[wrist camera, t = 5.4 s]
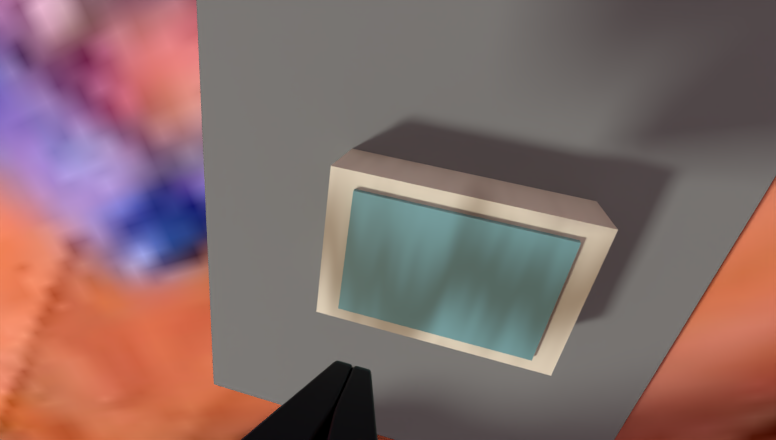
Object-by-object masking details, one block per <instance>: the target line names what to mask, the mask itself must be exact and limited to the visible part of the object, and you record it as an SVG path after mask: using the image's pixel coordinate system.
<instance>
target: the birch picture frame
mask: <svg viewBox="0 0 776 440" xmlns="http://www.w3.org/2000/svg"><path fill="white" fill-rule="evenodd" d="M617 231H618V229H617V228H616V226H615V225H614V224H613V222H612V221H611V220H610V218H609V217H608V216H607V214H606V213H605V212H604V210H603V209H602V208H601V206H600V205H599V204H598V202H597V201H593V200H588V199H583V198H579V197H574V196H569V195H565V194H560V193H556V192H551V191H546V190H542V189H537V188H532V187H528V186H523V185H519V184H514V183H509V182H505V181H500V180H495V179H491V178H486V177H481V176H477V175H472V174H468V173H463V172H458V171H454V170H449V169H444V168H440V167H435V166H430V165H426V164H421V163H417V162H412V161H407V160H403V159H398V158H393V157H389V156H384V155H380V154H375V153H370V152H366V151H361V150H356V149H351V150H350V151H348V152H347V153H346V154H345V155H343V156H342V157H341V158H340V159H339V160H337V161H336V162H335V163H334V164H332V165H331V168H330V179H329V189H328V199H327V209H326V219H325V229H324V239H323V249H322V259H321V270H320V280H319V290H318V300H317V310H316V312H319V313H323V314H326V315H330V316H334V317H337V318H341V319H345V320H348V321H352V322H356V323H359V324H363V325H367V326H370V327H374V328H378V329H381V330H385V331H389V332H392V333H396V334H400V335H403V336H407V337H411V338H414V339H418V340H422V341H425V342H429V343H433V344H436V345H440V346H444V347H447V348H451V349H455V350H458V351H462V352H466V353H469V354H473V355H477V356H480V357H484V358H488V359H491V360H495V361H499V362H502V363H506V364H510V365H513V366H517V367H521V368H524V369H528V370H532V371H535V372H539V373H543V374H546V375H550V376H551V375H552V372H553V370H554V368H555V366H556V364H557V362H558V359H559V357H560V355H561V353H562V351H563V349H564V346H565V344H566V342H567V340H568V338H569V335H570V333H571V331H572V329H573V327H574V325H575V322H576V320H577V318H578V316H579V314H580V312H581V309H582V307H583V305H584V303H585V301H586V298H587V296H588V294H589V292H590V290H591V288H592V285H593V283H594V281H595V279H596V277H597V275H598V272H599V270H600V268H601V266H602V264H603V261H604V259H605V257H606V255H607V253H608V251H609V248H610V246H611V244H612V242H613V240H614V238H615V235H616V233H617Z"/></svg>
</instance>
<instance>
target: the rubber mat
mask: <svg viewBox="0 0 776 440" xmlns="http://www.w3.org/2000/svg"><path fill="white" fill-rule="evenodd" d="M196 1H197V23H198V45H199V67H200V89H201V111H202V133H203V155H204V177H205V199H206V221H207V243H208V265H209V287H210V309H211V331H212V353H213V375H214V384H215V385H218V386H222V387H225V388H228V389H231V390H235V391H238V392H241V393H244V394H248V395H251V396H254V397H257V398H261V399H264V400H267V401H271V402H274V403H277V404H280V405H283V404H284V403H285V402H287V401H288V400H289V399H290V398H291V397H293V396H294V395H295V394H296V393H297V392H299V391H300V390H301V389H302V388H303V387H304V386H306V385H307V384H308V383H309V382H310V381H312V380H313V379H314V378H315V377H316V376H318V375H319V374H320V373H321V372H322V371H324V370H325V369H326V368H327V367H328V366H330V365H331V364H332V363H333V362H335V361H337V360H338V361H342V362H345V363H349V364H351V365H352V366H353V367H354V366H359V367H363V368H366V369H369V370H370V371H371V374H372V385H373V395H374V406H375V417H376V428H377V434H378V435H381V436H384V437H388V438H391V439H394V440H614V439H615V437H616V436H617V434H618V433H619V431H620V429H621V428H622V426H623V424H624V423H625V421H626V420H627V418H628V416H629V415H630V413H631V411H632V410H633V408H634V406H635V405H636V403H637V402H638V400H639V398H640V397H641V395H642V393H643V392H644V390H645V388H646V387H647V385H648V384H649V382H650V380H651V379H652V377H653V375H654V374H655V372H656V371H657V369H658V367H659V366H660V364H661V362H662V361H663V359H664V357H665V356H666V354H667V353H668V351H669V349H670V348H671V346H672V344H673V343H674V341H675V340H676V338H677V336H678V335H679V333H680V331H681V330H682V328H683V326H684V325H685V323H686V322H687V320H688V318H689V317H690V315H691V313H692V312H693V310H694V309H695V307H696V305H697V304H698V302H699V300H700V299H701V297H702V295H703V294H704V292H705V291H706V289H707V287H708V286H709V284H710V282H711V281H712V279H713V278H714V276H715V274H716V273H717V271H718V269H719V268H720V266H721V264H722V263H723V261H724V260H725V258H726V256H727V255H728V253H729V251H730V250H731V248H732V246H733V245H734V243H735V242H736V240H737V238H738V237H739V235H740V233H741V232H742V230H743V229H744V227H745V225H746V224H747V222H748V220H749V219H750V217H751V215H752V214H753V212H754V211H755V209H756V207H757V206H758V204H759V202H760V201H761V199H762V198H763V196H764V194H765V193H766V191H767V189H768V188H769V186H770V184H771V183H772V181H773V180H774V178H775V176H776V0H196ZM351 149H356V150H361V151H366V152H370V153H375V154H380V155H384V156H389V157H393V158H398V159H403V160H407V161H412V162H417V163H421V164H426V165H430V166H435V167H440V168H444V169H449V170H454V171H458V172H463V173H468V174H472V175H477V176H481V177H486V178H491V179H495V180H500V181H505V182H509V183H514V184H519V185H523V186H528V187H532V188H537V189H542V190H546V191H551V192H556V193H560V194H565V195H569V196H574V197H579V198H583V199H588V200H593V201H597V202H598V204H599V205H600V206H601V208H602V209H603V210H604V212H605V213H606V214H607V216H608V217H609V218H610V220H611V221H612V222H613V224H614V225H615V226H616V228H617V229H618V231H617V233H616V235H615V238H614V240H613V242H612V244H611V246H610V248H609V251H608V253H607V255H606V257H605V259H604V261H603V264H602V266H601V268H600V270H599V272H598V275H597V277H596V279H595V281H594V283H593V285H592V288H591V290H590V292H589V294H588V296H587V298H586V301H585V303H584V305H583V307H582V309H581V312H580V314H579V316H578V318H577V320H576V322H575V325H574V327H573V329H572V331H571V333H570V335H569V338H568V340H567V342H566V344H565V346H564V349H563V351H562V353H561V355H560V357H559V359H558V362H557V364H556V366H555V368H554V370H553V372H552V375H551V376H550V375H546V374H543V373H539V372H535V371H532V370H528V369H524V368H521V367H517V366H513V365H510V364H506V363H502V362H499V361H495V360H491V359H488V358H484V357H480V356H477V355H473V354H469V353H466V352H462V351H458V350H455V349H451V348H447V347H444V346H440V345H436V344H433V343H429V342H425V341H422V340H418V339H414V338H411V337H407V336H403V335H400V334H396V333H392V332H389V331H385V330H381V329H378V328H374V327H370V326H367V325H363V324H359V323H356V322H352V321H348V320H345V319H341V318H337V317H334V316H330V315H326V314H323V313H319V312H316V310H317V300H318V290H319V280H320V270H321V259H322V249H323V239H324V229H325V219H326V209H327V199H328V189H329V179H330V168H331V165H332V164H334V163H335V162H336V161H337V160H339V159H340V158H341V157H342V156H343V155H345V154H346V153H347V152H348V151H350V150H351Z"/></svg>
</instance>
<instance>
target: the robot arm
mask: <svg viewBox="0 0 776 440" xmlns="http://www.w3.org/2000/svg"><path fill="white" fill-rule="evenodd" d="M241 440H378V438H377V428H376V417H375V406H374V395H373V385H372V374H371V371H370V370H369V369H366V368H363V367H359V366H354V367H353V366H352V365H351V364H349V363H345V362H342V361H338V360H337V361H335V362H333V363H332V364H331V365H330V366H328V367H327V368H326V369H325V370H324V371H322V372H321V373H320V374H319V375H318V376H316V377H315V378H314V379H313V380H312V381H310V382H309V383H308V384H307V385H306V386H304V387H303V388H302V389H301V390H300V391H299V392H297V393H296V394H295V395H294V396H293V397H291V398H290V399H289V400H288V401H287V402H285V403H284V404H283V405H282V406H281V407H279V408H278V409H277V410H276V411H275V412H273V413H272V414H271V415H270V416H269V417H267V418H266V419H265V420H264V421H263V422H262V423H260V424H259V425H258V426H257V427H256V428H254V429H253V430H252V431H251V432H250V433H248V434H247V435H246V436H245V437H244V438H242V439H241Z"/></svg>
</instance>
